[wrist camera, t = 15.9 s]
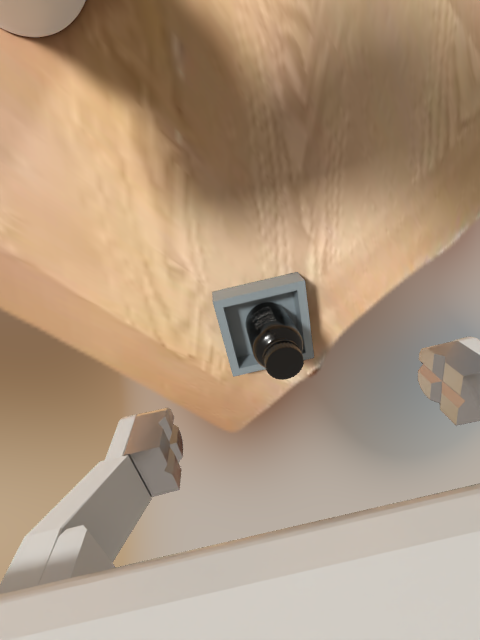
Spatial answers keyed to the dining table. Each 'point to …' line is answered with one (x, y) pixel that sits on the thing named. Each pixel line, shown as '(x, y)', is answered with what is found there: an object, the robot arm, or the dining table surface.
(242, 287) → the tray
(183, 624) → the robot arm
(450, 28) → the dining table surface
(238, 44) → the dining table surface
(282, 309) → the supplement bottle
